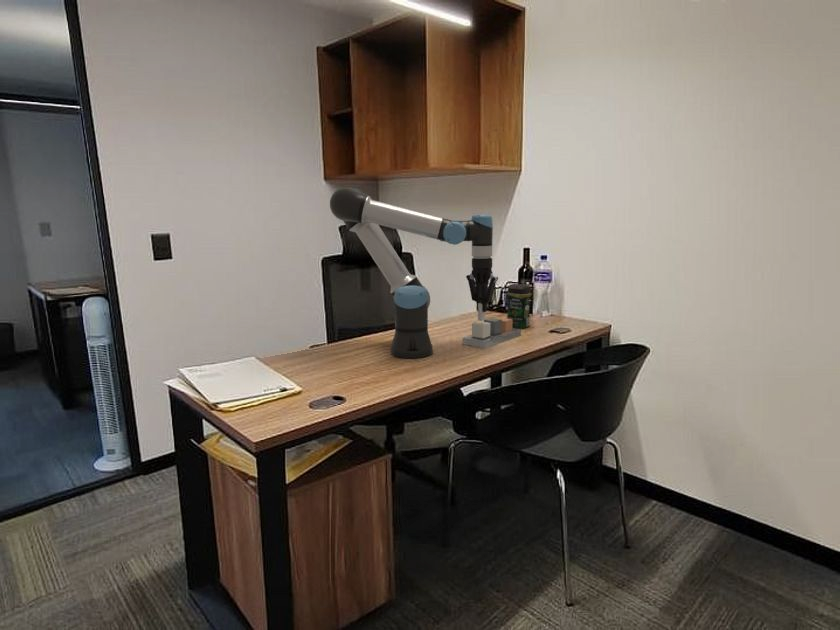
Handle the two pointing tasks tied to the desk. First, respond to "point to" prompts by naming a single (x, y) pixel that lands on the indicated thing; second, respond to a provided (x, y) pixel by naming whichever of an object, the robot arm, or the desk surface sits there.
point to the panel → (491, 338)
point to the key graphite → (494, 325)
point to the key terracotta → (506, 324)
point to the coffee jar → (519, 305)
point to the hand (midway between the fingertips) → (481, 319)
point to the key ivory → (480, 329)
